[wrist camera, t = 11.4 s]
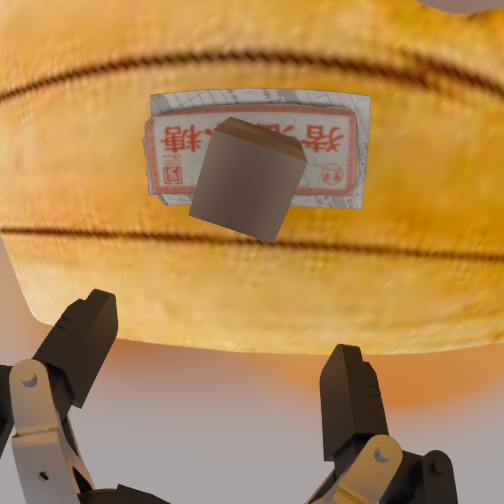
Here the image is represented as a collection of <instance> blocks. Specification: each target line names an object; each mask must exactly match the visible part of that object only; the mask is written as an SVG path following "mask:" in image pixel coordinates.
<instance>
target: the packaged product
mask: <svg viewBox="0 0 504 504" xmlns="http://www.w3.org/2000/svg"><path fill="white" fill-rule="evenodd" d="M150 99H151V117H150V118H149V120H148V121H146V123H145V135H144V138H143V146H144V150H145V155H146V158H147V174H146V175H147V177H148V192H149V194H150V195H159V198H160V200H161V201H162V202H163V204H164V205H172V204H177V205H180V204H192V200H193V196H194V193H195V189H196V186H197V182H198V178H199V175H200V172H201V168H202V165H203V161H204V158H205V155H206V151H207V148H208V145H209V141H210V138H211V135H212V132H213V130H214V129H215V128H216V127H217V126H219V125H220V124H221V123H223V122H224V121H225V120H226V119H228V118H229V117H233V118H236V119H239V120H242V121H245V122H248V123H251V124H254V125H257V126H260V127H263V128H266V129H269V130H272V131H275V132H277V133H280V134H283V135H286V136H288V137H291V138H294V139H296V140H299V141H300V142H301V145H302V148H303V151H304V153H305V156H306V159H307V162H308V164H307V166H306V168H305V171H304V173H303V175H302V178H301V180H300V182H299V185H298V187H297V190H296V192H295V194H294V197H293V199H292V201H291V204H290V206H304V207H326V208H349V209H362V201H363V194H364V183H365V176H366V164H367V150H368V138H369V127H370V101H371V97H370V96H363V95H356V94H349V93H341V92H333V91H323V90H300V89H255V88H247V89H225V90H216V89H212V90H196V91H185V92H178V93H171V94H157V95H151V96H150Z"/></svg>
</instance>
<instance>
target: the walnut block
mask: <svg viewBox="0 0 504 504" xmlns="http://www.w3.org/2000/svg"><path fill="white" fill-rule="evenodd" d="M307 164H308V162H307V159H306V156H305V153H304V151H303V148H302V145H301V142H300V141H299V140H296V139H294V138H291V137H288V136H286V135H283V134H280V133H277V132H275V131H272V130H269V129H266V128H263V127H260V126H257V125H254V124H251V123H248V122H245V121H242V120H239V119H236V118H233V117H229V118H228V119H226V120H225V121H224V122H223V123H221V124H220V125H219V126H217V127H216V128H215V129H214V130H213V132H212V135H211V138H210V141H209V145H208V148H207V151H206V155H205V158H204V161H203V165H202V168H201V172H200V175H199V178H198V182H197V186H196V189H195V193H194V196H193V200H192V204H191V207H190V211H189V216H192V217H195V218H198V219H201V220H204V221H207V222H210V223H213V224H216V225H219V226H222V227H225V228H228V229H231V230H234V231H237V232H240V233H243V234H246V235H249V236H252V237H255V238H258V239H261V240H264V241H267V242H270V243H274V241H275V238H276V236H277V234H278V232H279V229H280V227H281V225H282V222H283V220H284V218H285V215H286V213H287V211H288V208H289V206H290V204H291V201H292V199H293V197H294V194H295V192H296V190H297V187H298V185H299V182H300V180H301V178H302V175H303V173H304V171H305V168H306V166H307Z"/></svg>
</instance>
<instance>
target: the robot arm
mask: <svg viewBox="0 0 504 504" xmlns="http://www.w3.org/2000/svg"><path fill="white" fill-rule="evenodd" d="M117 331H118V317H117V307H116V297H115V295H114V294H112V293H109V292H105V291H102V290H99V289H94V290H93V291H92V292H91V293H90V295H89V296H88V297H87V299H86V300H82V299H78V300H77V301H75V302H74V303H72V304H71V305H69V306H68V307H67V308H66V310H65V311H64V313H63V314H62V315H61V318H59V320H58V321H57V322H56V324H55V327H53V328H52V330H51V331H50V333H49V334H48V336H47V337H46V339H45V340H44V341H43V343H42V344H41V346H40V348H39V349H38V350H37V352H36V354H35V355H34V356H33V358H32V359H26V360H22V361H20V362H18V363H17V364H16V365H14V366H5V365H0V458H1V455H2V452H3V450H4V448H5V445H6V443H7V440H8V438H9V435H10V433H11V431H12V428H13V426H14V424H15V429H16V435H15V436H13V437H12V449H13V453H14V458H15V463H16V467H17V471H18V475H19V478H20V483H21V486H22V490H23V493H24V497H25V500H26V503H27V504H170V503H168V502H166V501H164V500H162V499H160V498H158V497H156V496H154V495H152V494H149V493H146V492H142V491H139V490H136V489H132V488H130V487H126V486H123V485H120V484H118V487H117V489H97V490H96V489H95V486H94V484H93V482H92V479H91V477H90V474H89V472H88V470H87V468H86V466H85V464H84V462H83V460H82V457H81V455H80V452H79V449H78V446H77V443H76V439H75V436H74V433H73V430H72V426H71V423H70V419H69V415H68V411H69V409H70V407H71V405H73V406H75V407H78V408H80V409H81V408H82V406H83V404H84V402H85V399H86V397H87V395H88V393H89V391H90V389H91V387H92V385H93V382H94V380H95V378H96V376H97V374H98V372H99V370H100V368H101V366H102V364H103V362H104V360H105V358H106V356H107V354H108V352H109V350H110V348H111V346H112V344H113V342H114V340H115V338H116V335H117ZM378 387H379V384H378V380H377V375H376V373H375V371H374V369H373V368H372V366H371V365H370V363H369V362H363V360H362V355H361V350H360V348H359V347H358V346H351V345H344V344H338V345H337V346H336V347H335V349H334V351H333V353H332V354H331V356H330V358H329V360H328V361H327V363H326V365H325V366H324V368H323V370H322V372H321V376H320V397H321V412H322V429H323V449H324V461H333V462H334V463H335V469H334V470H332V472H331V473H330V474H329V475H328V477H327V478H326V479H325V480H324V482H323V483H322V484H321V485H320V486H319V488H318V489H317V490H316V491H315V492H314V494H313V495H312V496H311V497H310V498H309V499H308V501H307V502H306V503H305V504H377V503H378V502H379V504H458V500H457V492H456V485H455V479H454V472H453V467H452V463H451V460H450V458H449V457H448V456H447V455H446V454H445V453H443V452H442V451H439V450H434V451H430V452H428V453H427V454H426V455H424V456H420V455H417V454H413V453H410V452H406V451H403V450H402V449H401V447H400V445H399V443H398V442H397V441H396V440H395V439H393V438H392V437H390V436H389V433H388V429H387V423H386V417H385V412H384V407H383V403H382V398H381V393H380V389H379V388H378Z"/></svg>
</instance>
